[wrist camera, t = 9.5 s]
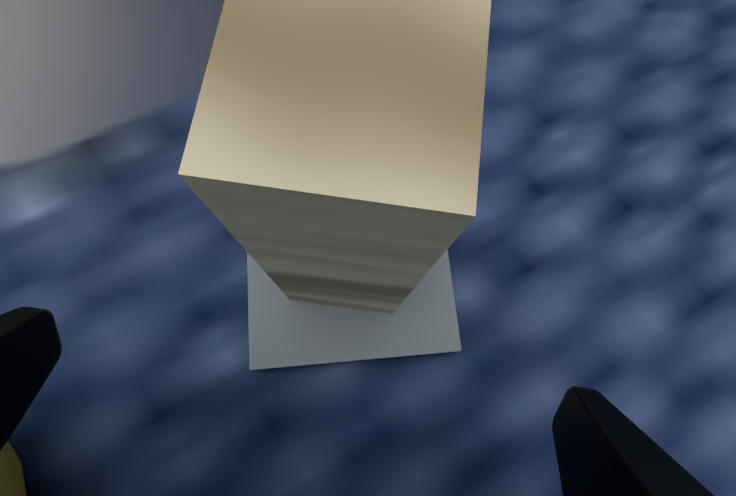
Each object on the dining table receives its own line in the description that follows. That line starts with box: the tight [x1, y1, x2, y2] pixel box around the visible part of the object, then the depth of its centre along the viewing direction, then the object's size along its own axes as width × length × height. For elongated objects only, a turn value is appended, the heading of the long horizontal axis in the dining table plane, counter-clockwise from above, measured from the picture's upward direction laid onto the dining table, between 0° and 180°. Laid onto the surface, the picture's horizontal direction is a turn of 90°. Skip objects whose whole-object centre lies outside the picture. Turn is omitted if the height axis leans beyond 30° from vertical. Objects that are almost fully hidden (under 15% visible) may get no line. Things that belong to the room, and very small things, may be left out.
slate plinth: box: [247, 249, 462, 370], centre depth 20 cm, size 9×9×2 cm
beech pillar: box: [178, 0, 491, 314], centre depth 13 cm, size 4×4×13 cm
